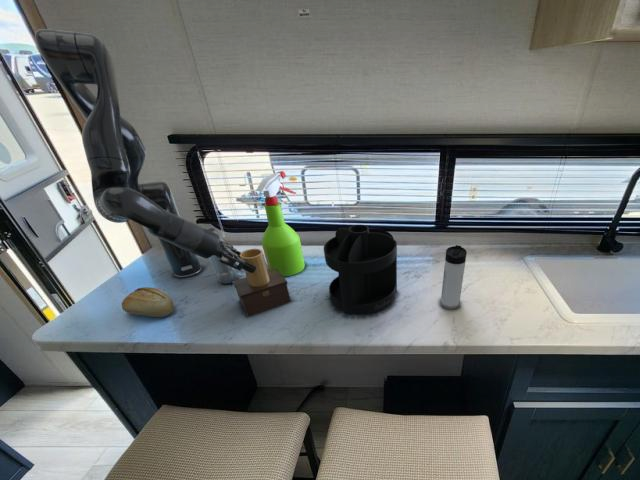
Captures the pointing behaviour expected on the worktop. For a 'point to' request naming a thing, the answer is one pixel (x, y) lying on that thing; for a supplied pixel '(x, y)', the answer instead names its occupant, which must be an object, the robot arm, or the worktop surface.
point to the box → (262, 293)
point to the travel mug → (453, 276)
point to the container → (362, 269)
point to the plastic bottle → (222, 266)
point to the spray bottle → (279, 231)
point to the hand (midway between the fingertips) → (250, 264)
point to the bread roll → (148, 303)
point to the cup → (261, 272)
